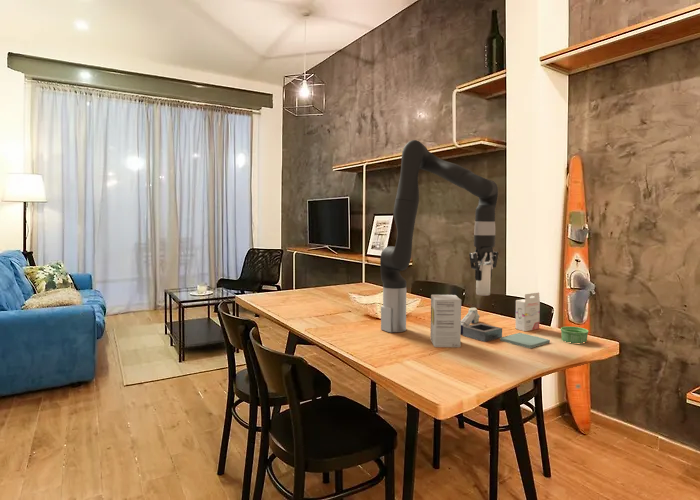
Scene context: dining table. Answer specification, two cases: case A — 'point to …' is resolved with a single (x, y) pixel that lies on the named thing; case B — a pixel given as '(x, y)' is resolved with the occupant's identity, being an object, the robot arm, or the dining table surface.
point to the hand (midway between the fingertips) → (483, 279)
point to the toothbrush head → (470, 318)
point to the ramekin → (574, 334)
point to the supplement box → (445, 321)
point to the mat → (524, 340)
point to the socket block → (482, 332)
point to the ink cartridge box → (528, 312)
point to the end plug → (484, 281)
